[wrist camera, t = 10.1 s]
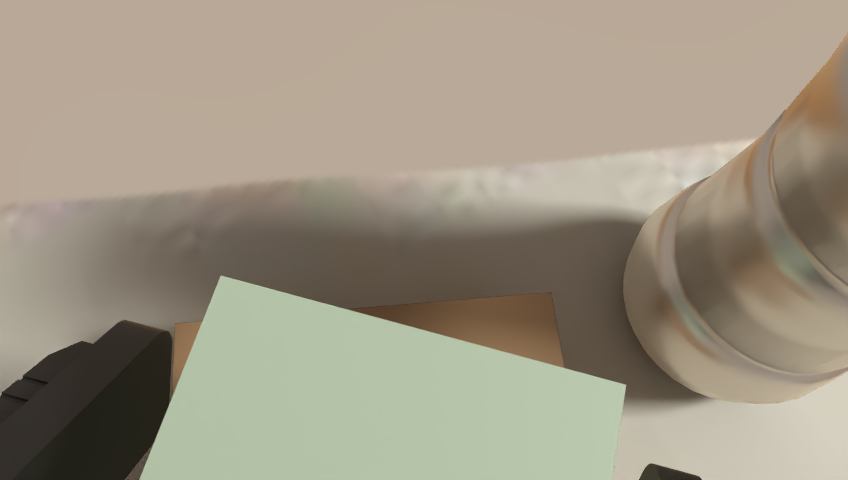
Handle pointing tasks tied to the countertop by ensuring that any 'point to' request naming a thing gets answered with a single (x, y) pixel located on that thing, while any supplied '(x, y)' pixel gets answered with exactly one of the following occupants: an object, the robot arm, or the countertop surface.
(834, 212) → the plastic bottle
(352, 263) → the countertop surface
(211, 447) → the block
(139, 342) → the robot arm
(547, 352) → the base
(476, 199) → the countertop surface
